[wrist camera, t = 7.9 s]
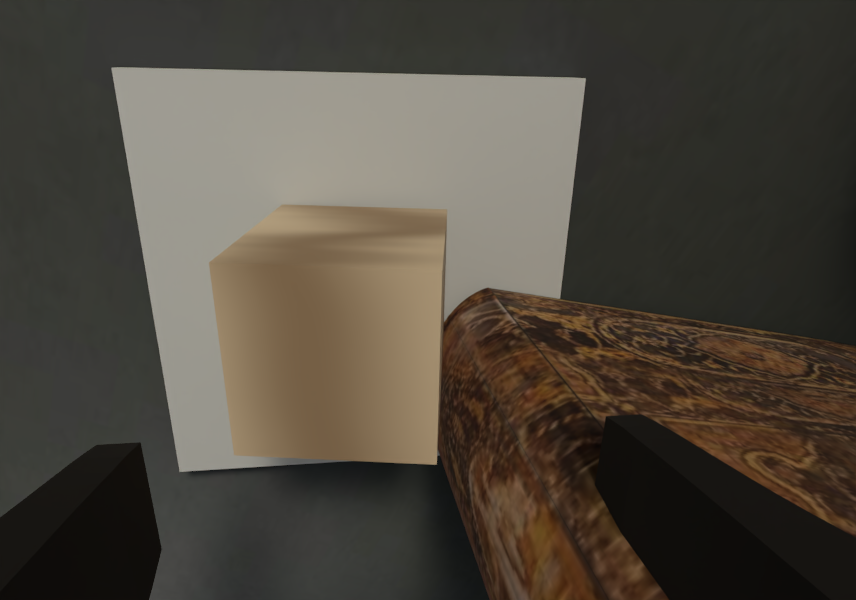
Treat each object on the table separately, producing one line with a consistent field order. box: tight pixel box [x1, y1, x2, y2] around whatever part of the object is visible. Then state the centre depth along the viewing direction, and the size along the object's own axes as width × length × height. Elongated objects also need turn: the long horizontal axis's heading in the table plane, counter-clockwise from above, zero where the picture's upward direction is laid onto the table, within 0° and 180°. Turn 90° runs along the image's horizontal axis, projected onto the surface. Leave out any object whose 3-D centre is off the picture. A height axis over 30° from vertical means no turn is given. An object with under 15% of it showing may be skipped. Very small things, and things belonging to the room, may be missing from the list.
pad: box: [112, 67, 586, 472], centre depth 17 cm, size 12×12×1 cm
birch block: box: [209, 205, 447, 465], centre depth 14 cm, size 4×4×5 cm
